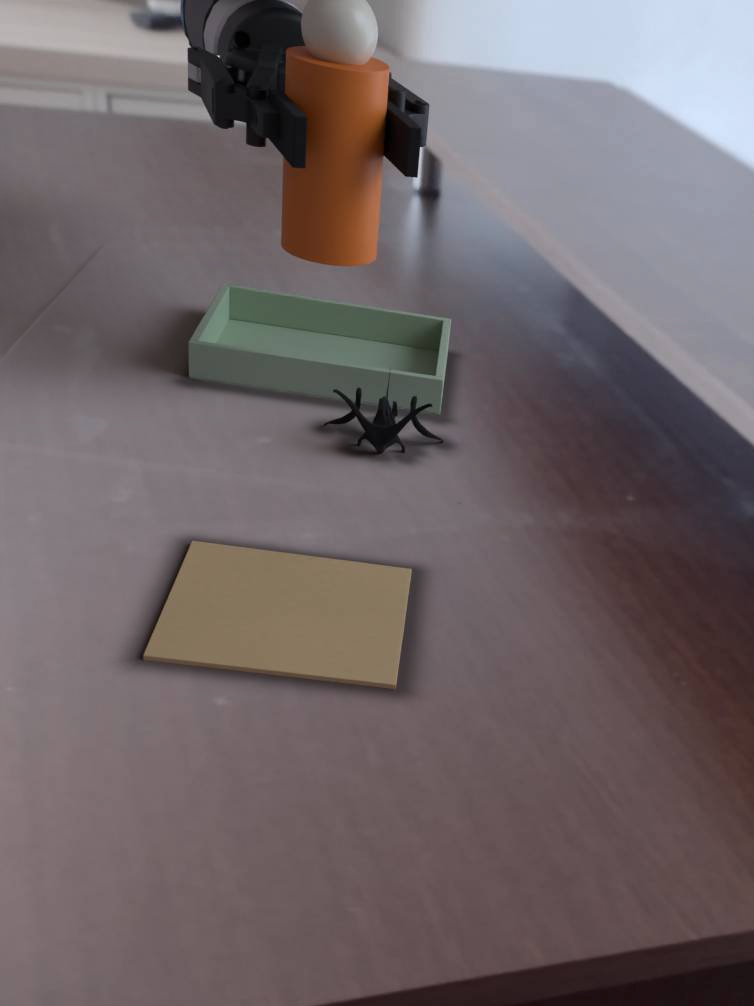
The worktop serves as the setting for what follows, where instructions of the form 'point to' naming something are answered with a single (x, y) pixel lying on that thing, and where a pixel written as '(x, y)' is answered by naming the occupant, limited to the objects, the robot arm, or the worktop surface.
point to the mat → (284, 616)
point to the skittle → (336, 136)
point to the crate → (320, 347)
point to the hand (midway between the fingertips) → (357, 147)
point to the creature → (383, 421)
